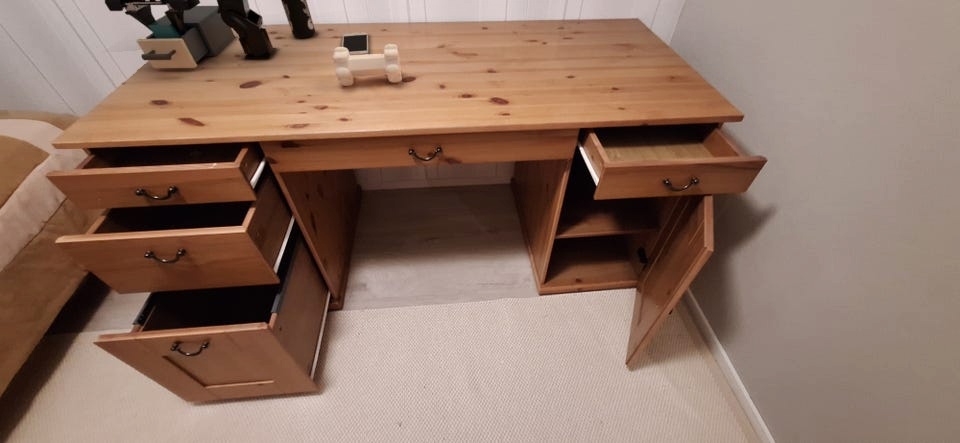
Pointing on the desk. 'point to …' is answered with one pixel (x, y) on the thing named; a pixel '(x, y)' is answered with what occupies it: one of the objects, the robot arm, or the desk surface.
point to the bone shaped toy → (367, 65)
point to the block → (164, 29)
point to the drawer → (174, 49)
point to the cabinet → (209, 27)
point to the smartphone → (356, 43)
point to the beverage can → (299, 18)
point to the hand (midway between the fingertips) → (173, 38)
